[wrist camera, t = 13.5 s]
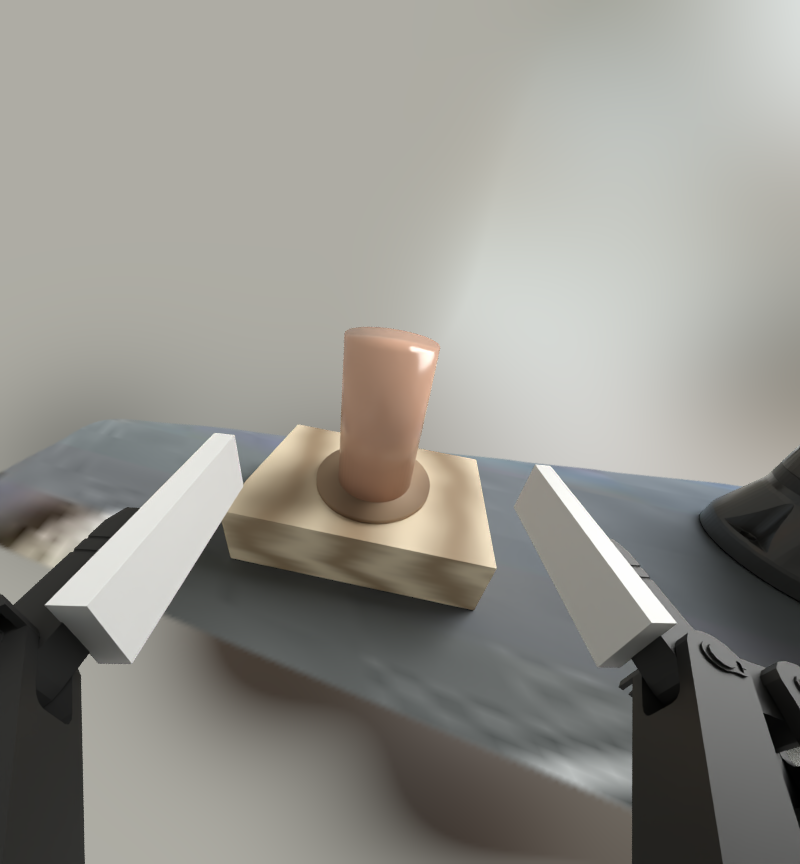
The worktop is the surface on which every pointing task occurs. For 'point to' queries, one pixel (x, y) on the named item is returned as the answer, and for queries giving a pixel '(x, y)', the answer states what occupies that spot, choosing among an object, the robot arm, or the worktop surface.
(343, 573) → the plinth
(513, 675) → the worktop surface
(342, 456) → the slanted peach cylinder
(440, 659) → the worktop surface
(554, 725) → the worktop surface
